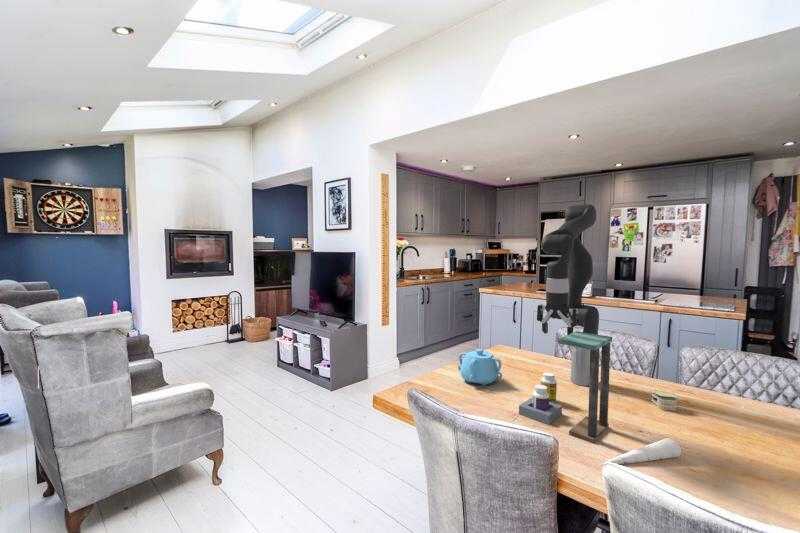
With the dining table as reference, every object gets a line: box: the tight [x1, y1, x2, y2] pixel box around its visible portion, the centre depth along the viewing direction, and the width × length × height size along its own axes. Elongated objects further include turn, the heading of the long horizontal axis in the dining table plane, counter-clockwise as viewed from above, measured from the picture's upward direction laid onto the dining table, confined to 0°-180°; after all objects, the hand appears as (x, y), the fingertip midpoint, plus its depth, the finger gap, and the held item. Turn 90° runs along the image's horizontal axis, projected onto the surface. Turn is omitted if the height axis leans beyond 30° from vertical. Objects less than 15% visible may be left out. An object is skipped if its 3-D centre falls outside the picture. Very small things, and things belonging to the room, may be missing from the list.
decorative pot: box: [457, 348, 503, 386], centre depth 160 cm, size 16×16×14 cm
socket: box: [518, 396, 563, 425], centre depth 128 cm, size 10×10×3 cm
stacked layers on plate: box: [651, 389, 679, 412], centre depth 134 cm, size 10×9×6 cm
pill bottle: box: [531, 384, 549, 412], centre depth 128 cm, size 5×5×10 cm
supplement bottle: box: [540, 372, 558, 404], centre depth 139 cm, size 6×6×10 cm
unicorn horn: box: [601, 437, 682, 466], centre depth 102 cm, size 5×24×5 cm, turn 99°
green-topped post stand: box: [557, 330, 613, 444], centre depth 117 cm, size 15×11×29 cm
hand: (557, 335), depth 133 cm, fingers open, 8 cm apart
